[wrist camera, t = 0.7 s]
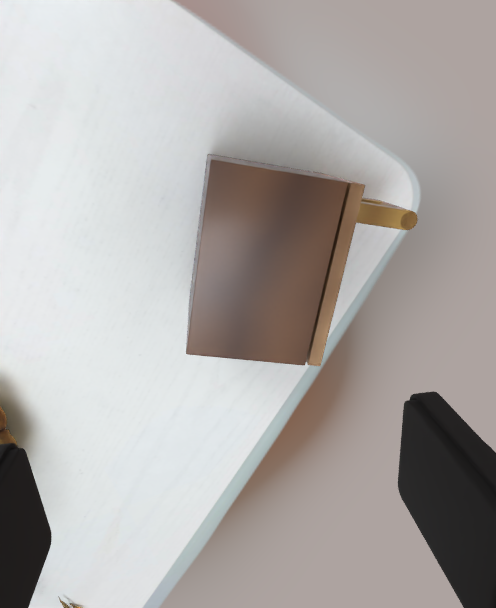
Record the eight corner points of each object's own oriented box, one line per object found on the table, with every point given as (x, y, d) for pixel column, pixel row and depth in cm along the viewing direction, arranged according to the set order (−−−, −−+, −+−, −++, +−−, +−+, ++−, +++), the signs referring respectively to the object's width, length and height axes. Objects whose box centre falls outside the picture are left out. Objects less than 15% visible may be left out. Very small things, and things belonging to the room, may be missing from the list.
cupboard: (309, 170, 38) (348, 182, 28) (280, 313, 42) (305, 365, 32) (207, 153, 36) (210, 159, 26) (189, 302, 41) (185, 354, 31)
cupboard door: (378, 182, 39) (437, 196, 29) (342, 320, 43) (383, 372, 34) (312, 171, 38) (351, 182, 28) (283, 314, 42) (307, 365, 33)
